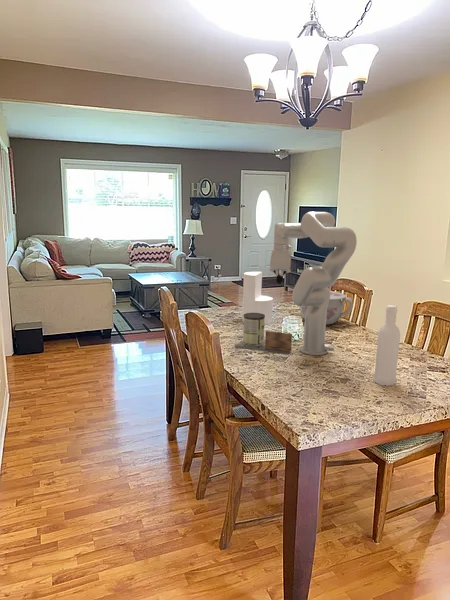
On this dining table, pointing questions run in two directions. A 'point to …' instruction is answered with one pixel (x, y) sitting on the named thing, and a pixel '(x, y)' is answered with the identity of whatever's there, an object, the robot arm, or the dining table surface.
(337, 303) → the chamber pot
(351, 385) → the dining table surface
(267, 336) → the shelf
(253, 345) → the grey flat strip
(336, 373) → the dining table surface
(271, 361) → the dining table surface
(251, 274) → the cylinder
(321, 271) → the robot arm
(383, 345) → the bottle
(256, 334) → the coffee can
